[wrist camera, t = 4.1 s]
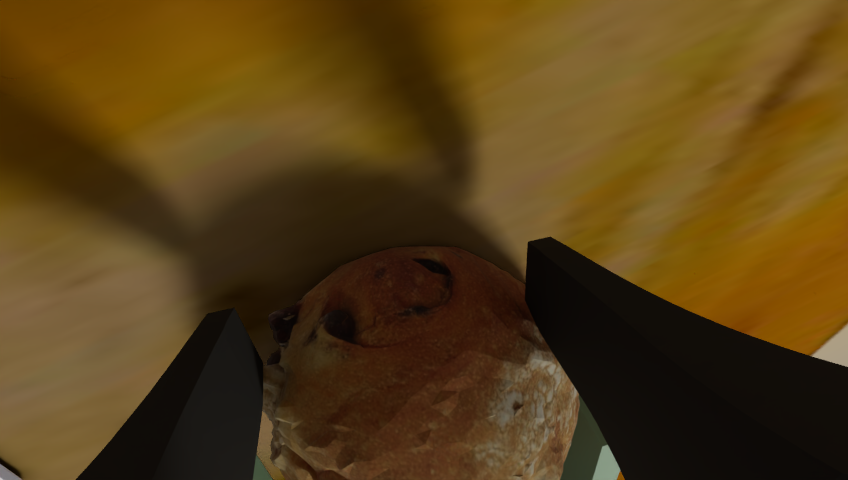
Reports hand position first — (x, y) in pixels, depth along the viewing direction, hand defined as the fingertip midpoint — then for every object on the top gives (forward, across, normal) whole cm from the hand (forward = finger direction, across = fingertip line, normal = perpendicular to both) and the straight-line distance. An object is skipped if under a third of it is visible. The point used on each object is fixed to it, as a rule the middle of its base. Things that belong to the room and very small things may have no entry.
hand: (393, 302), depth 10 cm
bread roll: (+3, 0, +4) cm, 5 cm away
